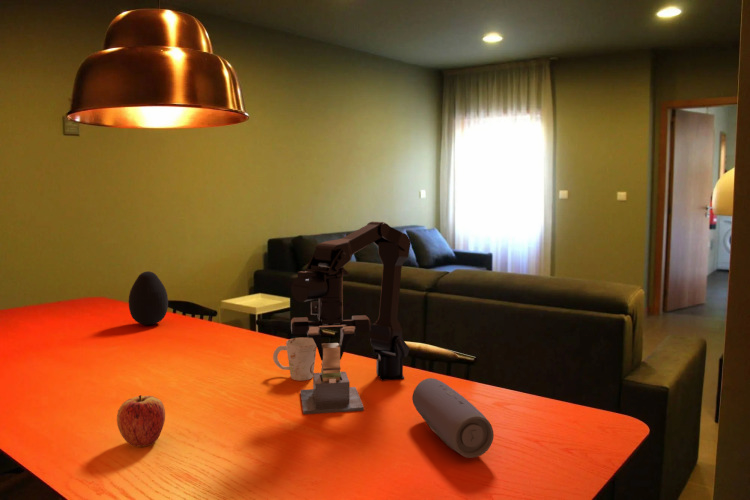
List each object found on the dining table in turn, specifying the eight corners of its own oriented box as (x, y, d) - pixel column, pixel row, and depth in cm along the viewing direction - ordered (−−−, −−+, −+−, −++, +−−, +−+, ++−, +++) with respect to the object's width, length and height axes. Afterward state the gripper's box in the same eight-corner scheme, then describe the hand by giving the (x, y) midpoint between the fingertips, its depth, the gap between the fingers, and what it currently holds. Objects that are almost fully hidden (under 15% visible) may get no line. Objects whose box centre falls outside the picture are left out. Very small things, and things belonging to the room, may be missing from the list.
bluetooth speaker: (496, 461, 112) (497, 411, 111) (451, 467, 110) (452, 416, 108) (448, 416, 134) (449, 373, 133) (409, 420, 131) (410, 377, 130)
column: (338, 377, 144) (338, 342, 143) (340, 383, 140) (340, 347, 139) (321, 378, 144) (321, 343, 143) (322, 384, 139) (322, 348, 138)
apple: (118, 456, 113) (115, 406, 112) (117, 438, 121) (116, 391, 120) (167, 448, 117) (166, 400, 115) (164, 431, 125) (163, 385, 124)
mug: (311, 383, 155) (311, 346, 154) (267, 379, 158) (266, 343, 157) (321, 373, 163) (320, 338, 162) (278, 370, 166) (277, 335, 165)
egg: (159, 318, 228) (158, 267, 226) (174, 325, 218) (173, 271, 216) (123, 324, 219) (121, 271, 216) (137, 331, 209) (135, 275, 206)
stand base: (355, 389, 150) (355, 363, 150) (363, 410, 137) (364, 381, 136) (300, 392, 148) (300, 365, 147) (303, 414, 134) (303, 384, 134)
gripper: (364, 288, 149) (364, 348, 151) (290, 290, 146) (290, 351, 147) (371, 297, 138) (371, 361, 140) (291, 299, 135) (292, 365, 137)
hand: (330, 359), depth 141 cm, fingers closed on column, 4 cm apart
